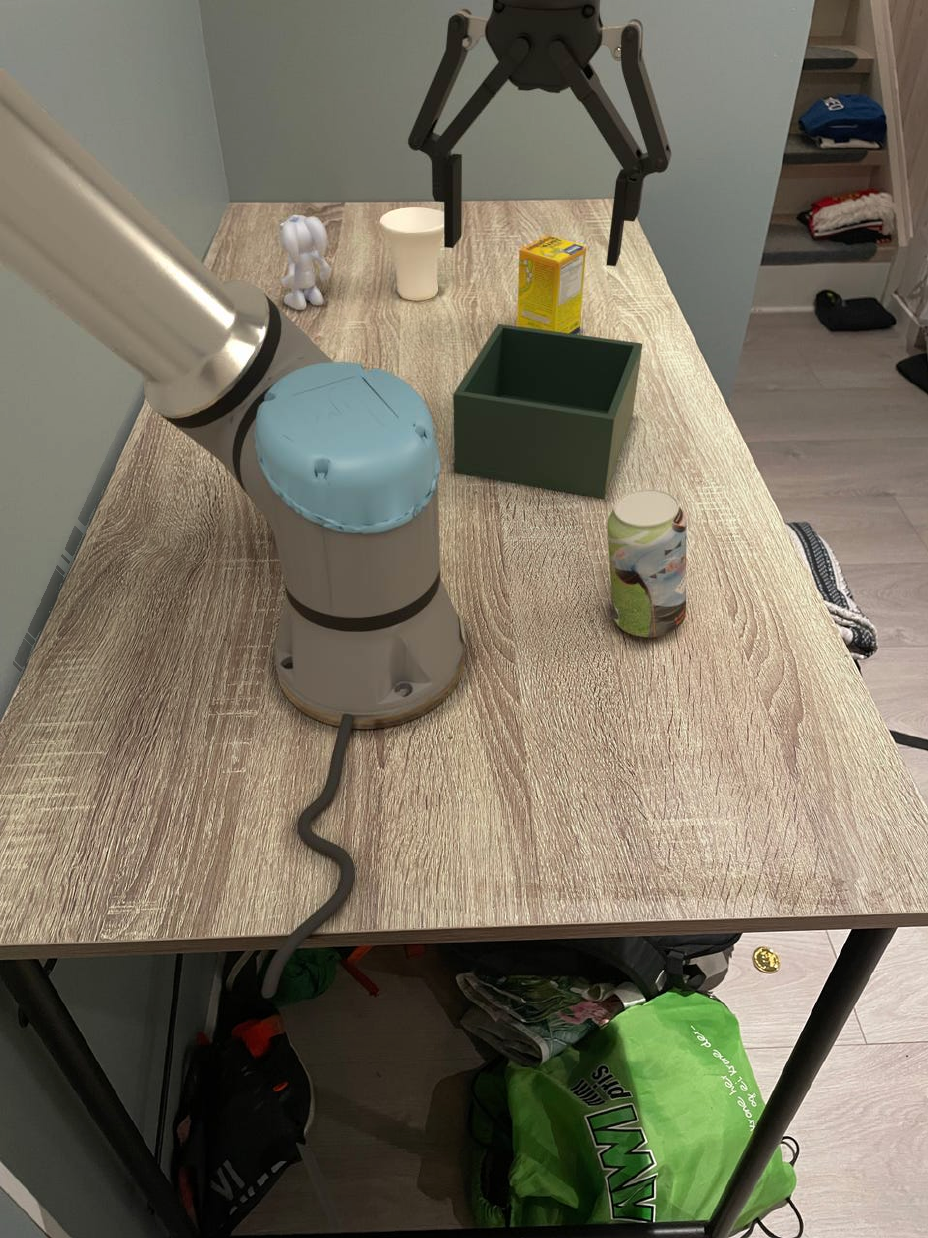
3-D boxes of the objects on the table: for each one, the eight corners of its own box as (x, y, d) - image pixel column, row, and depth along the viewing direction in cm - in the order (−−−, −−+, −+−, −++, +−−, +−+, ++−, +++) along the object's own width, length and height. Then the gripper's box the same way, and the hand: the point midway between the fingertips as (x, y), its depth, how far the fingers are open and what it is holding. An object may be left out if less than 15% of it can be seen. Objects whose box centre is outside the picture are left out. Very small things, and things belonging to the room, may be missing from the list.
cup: (461, 298, 123) (460, 222, 116) (396, 310, 121) (391, 233, 114) (438, 273, 129) (436, 200, 122) (375, 284, 127) (370, 209, 120)
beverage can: (681, 651, 75) (707, 536, 66) (592, 639, 76) (606, 524, 67) (684, 601, 79) (708, 487, 71) (599, 590, 80) (613, 476, 72)
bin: (604, 499, 90) (614, 419, 84) (454, 472, 93) (453, 393, 87) (632, 419, 101) (642, 343, 95) (496, 397, 104) (498, 323, 98)
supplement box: (542, 318, 119) (547, 233, 111) (580, 331, 116) (588, 245, 108) (514, 335, 115) (517, 248, 108) (553, 349, 113) (559, 261, 105)
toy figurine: (319, 289, 126) (308, 198, 117) (340, 306, 122) (331, 213, 113) (273, 301, 123) (259, 209, 115) (293, 318, 119) (280, 224, 111)
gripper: (742, -67, 62) (687, 249, 76) (391, -82, 66) (402, 219, 81) (737, -52, 56) (679, 285, 71) (355, -70, 61) (374, 250, 75)
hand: (531, 250), depth 76 cm, fingers open, 13 cm apart
